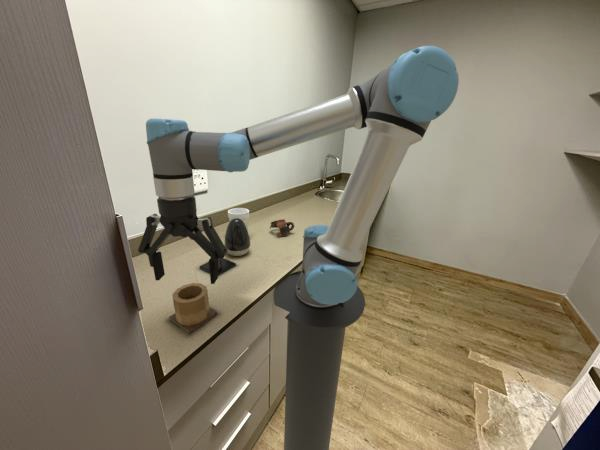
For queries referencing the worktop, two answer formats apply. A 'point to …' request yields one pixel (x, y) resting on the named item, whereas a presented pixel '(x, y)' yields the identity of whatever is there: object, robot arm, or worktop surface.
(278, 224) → the pottery mug
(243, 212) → the foam cup
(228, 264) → the square base peg
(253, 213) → the worktop surface
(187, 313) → the maple ring
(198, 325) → the low peg stand
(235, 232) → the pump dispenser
